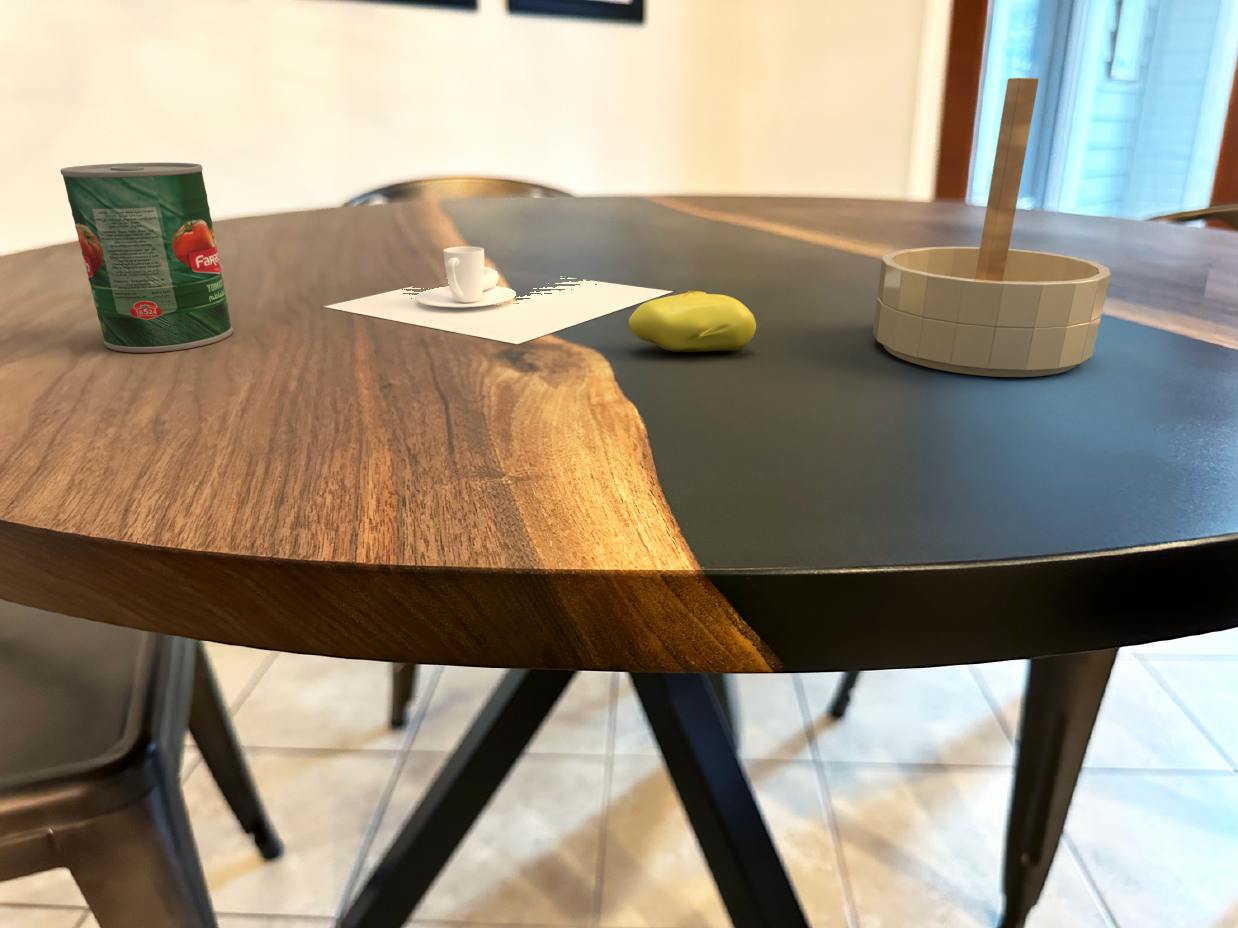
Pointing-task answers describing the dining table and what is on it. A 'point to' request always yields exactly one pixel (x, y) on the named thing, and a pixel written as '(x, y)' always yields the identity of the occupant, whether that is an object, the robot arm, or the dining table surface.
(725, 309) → the lemon
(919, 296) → the bowl
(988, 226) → the flat wooden stick
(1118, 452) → the dining table surface
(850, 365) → the dining table surface
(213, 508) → the dining table surface
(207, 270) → the canned tomato
